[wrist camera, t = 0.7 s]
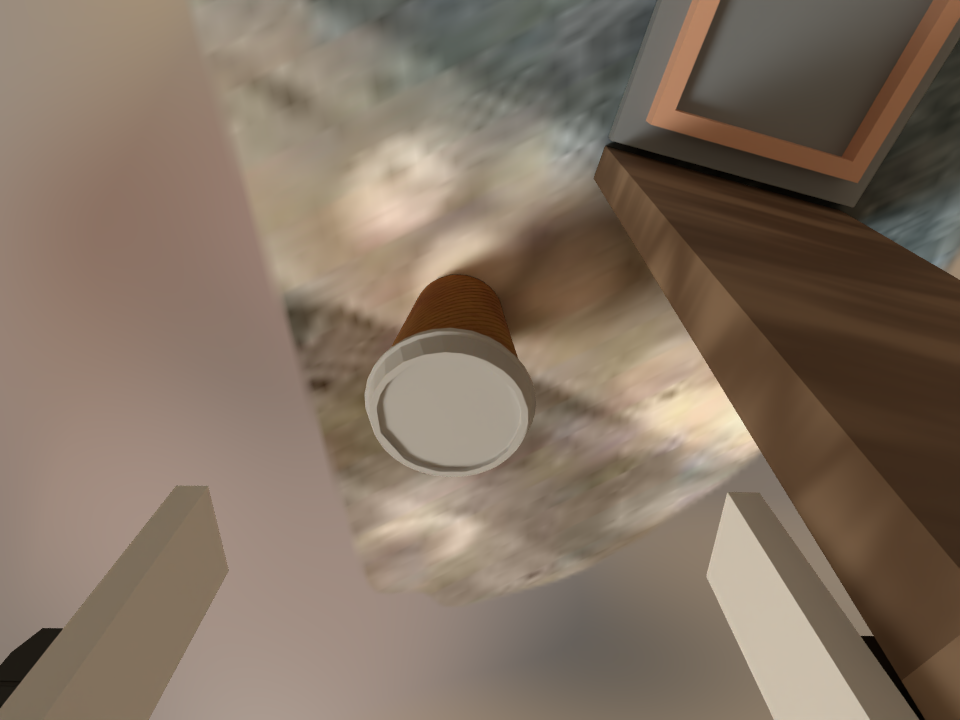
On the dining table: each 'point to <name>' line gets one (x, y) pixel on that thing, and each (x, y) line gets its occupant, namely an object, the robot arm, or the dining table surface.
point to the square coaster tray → (785, 86)
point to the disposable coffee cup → (451, 384)
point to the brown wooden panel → (827, 386)
